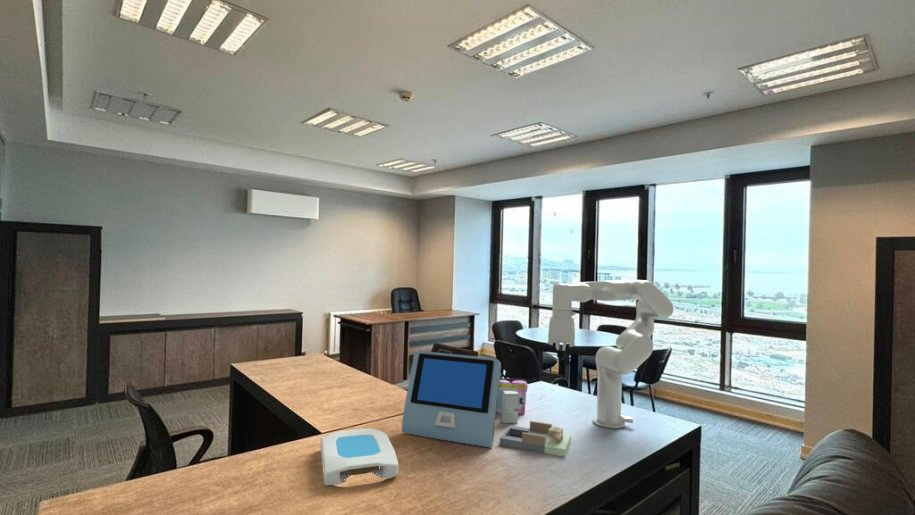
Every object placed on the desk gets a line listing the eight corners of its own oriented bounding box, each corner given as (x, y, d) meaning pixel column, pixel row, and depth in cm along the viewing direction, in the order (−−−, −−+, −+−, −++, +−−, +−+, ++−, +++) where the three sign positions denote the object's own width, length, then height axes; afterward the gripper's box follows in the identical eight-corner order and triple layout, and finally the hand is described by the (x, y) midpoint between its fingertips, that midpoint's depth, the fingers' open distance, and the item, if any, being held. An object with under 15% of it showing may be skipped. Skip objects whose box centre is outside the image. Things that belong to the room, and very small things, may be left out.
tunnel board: (570, 441, 160) (570, 426, 161) (565, 456, 147) (565, 440, 148) (509, 431, 169) (510, 417, 169) (499, 445, 156) (500, 429, 156)
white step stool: (324, 491, 122) (324, 468, 122) (320, 450, 148) (320, 432, 148) (398, 480, 129) (399, 459, 129) (382, 444, 155) (382, 426, 155)
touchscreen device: (399, 435, 162) (403, 354, 164) (421, 420, 181) (424, 347, 182) (490, 451, 151) (493, 363, 152) (503, 433, 169) (505, 355, 171)
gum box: (526, 409, 197) (527, 379, 197) (528, 415, 189) (528, 383, 189) (474, 406, 199) (474, 376, 199) (473, 412, 191) (473, 381, 192)
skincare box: (503, 423, 178) (504, 393, 178) (501, 419, 182) (501, 390, 182) (518, 423, 178) (519, 393, 179) (515, 419, 183) (516, 390, 183)
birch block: (562, 439, 156) (563, 428, 156) (559, 443, 152) (559, 432, 152) (552, 437, 158) (552, 426, 158) (548, 441, 154) (548, 429, 154)
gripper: (582, 314, 176) (581, 360, 176) (545, 312, 182) (544, 356, 182) (579, 316, 169) (579, 363, 169) (541, 313, 175) (540, 359, 175)
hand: (560, 359), depth 175 cm, fingers closed
